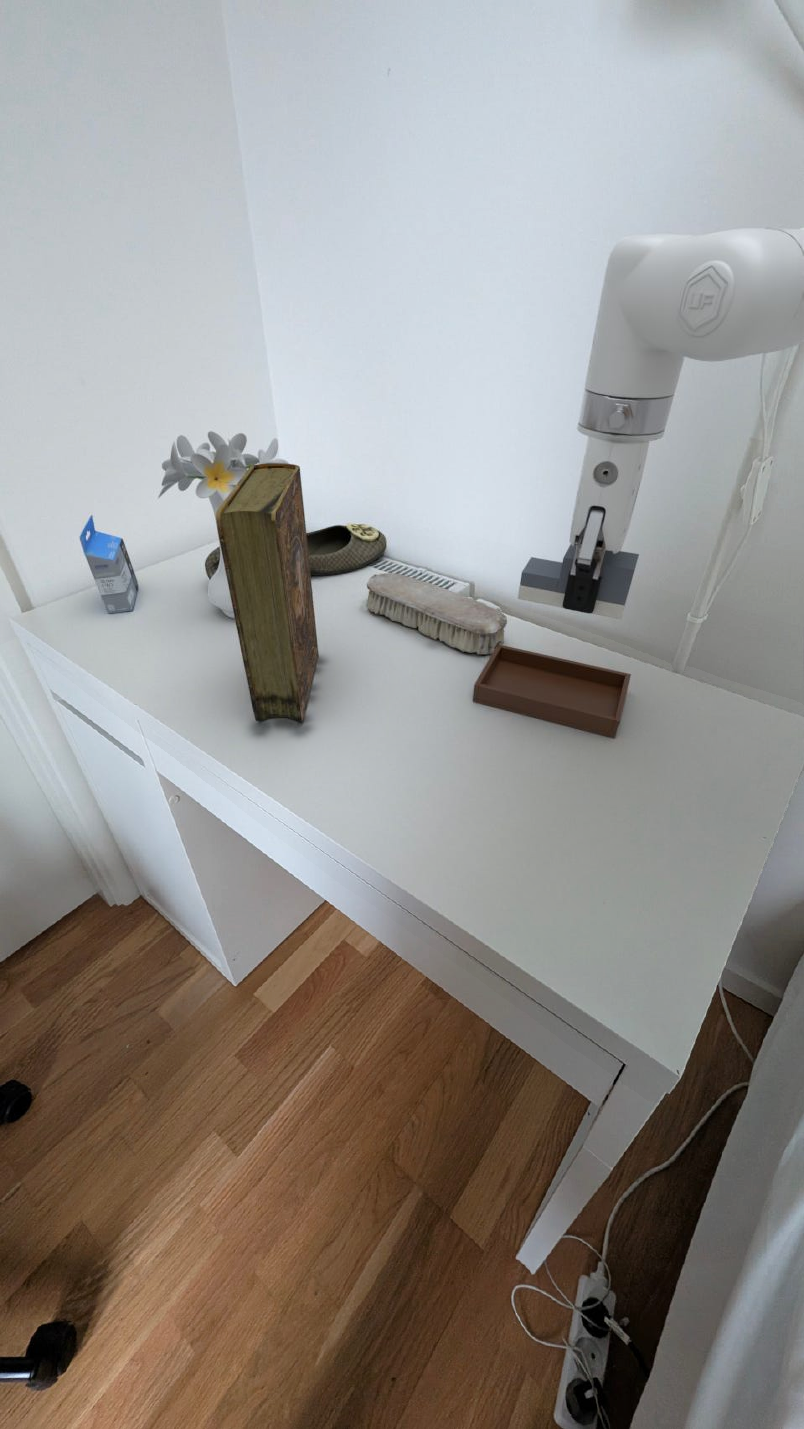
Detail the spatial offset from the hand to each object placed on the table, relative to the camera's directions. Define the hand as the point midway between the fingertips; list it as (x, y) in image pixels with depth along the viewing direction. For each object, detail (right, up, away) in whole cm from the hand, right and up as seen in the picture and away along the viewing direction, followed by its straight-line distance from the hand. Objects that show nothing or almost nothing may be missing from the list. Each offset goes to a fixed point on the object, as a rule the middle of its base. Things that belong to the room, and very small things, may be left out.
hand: (582, 597), depth 63 cm
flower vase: (-44, +4, +28) cm, 53 cm away
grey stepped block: (-1, 0, +1) cm, 1 cm away
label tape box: (-64, +5, +30) cm, 71 cm away
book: (-34, -9, +12) cm, 37 cm away
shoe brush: (-15, 0, +24) cm, 28 cm away
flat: (-37, +13, +39) cm, 55 cm away
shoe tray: (-1, -10, +10) cm, 15 cm away
